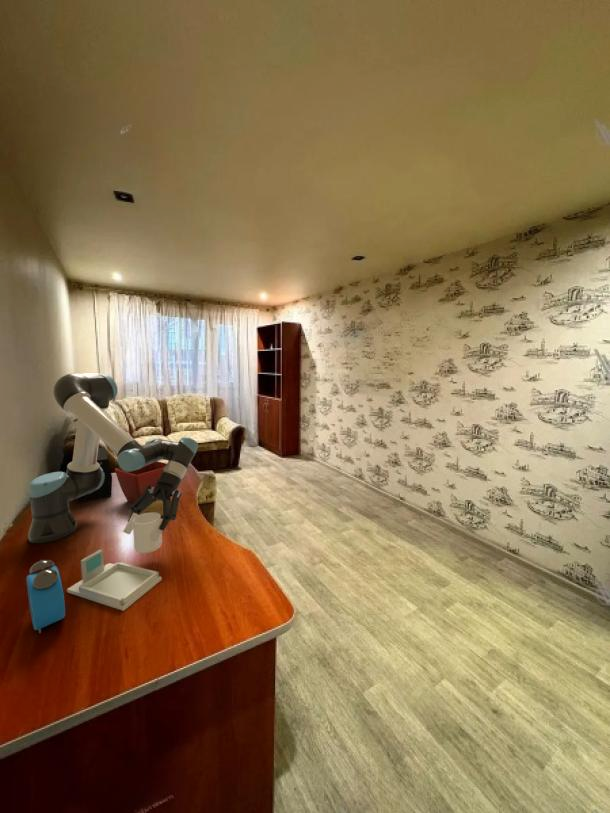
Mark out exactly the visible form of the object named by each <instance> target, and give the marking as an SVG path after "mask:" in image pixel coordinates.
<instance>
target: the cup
mask: <svg viewBox="0 0 610 813" xmlns="http://www.w3.org/2000/svg"><path fill="white" fill-rule="evenodd" d="M160 518H162V516H161V515H160V514H159V513H155V512H150V513H144V514H141V515H139V516H137V517H135V518H134V519H133V530H132V531H133V544H134V549H135V552H137V553H139V554H148V553H152V552H155V551H156V550H158V549H159V548H160V547H161V546H162V544H163V536H162V534H163V533H162V532H163V531H162V532H161V534H160V536H159V538H158V540H157V541H155V540H153V539H151V536H152V534H153V532H154V530H155V528H156V526H157V524H158V522H159V520H160Z"/></svg>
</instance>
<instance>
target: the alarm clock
mask: <svg viewBox="0 0 610 813" xmlns="http://www.w3.org/2000/svg"><path fill="white" fill-rule="evenodd" d="M60 574H61V573H60V571H59V569H58V567H57V566H56V565H55V562H54V561H53V560H51V559H40V560H39V561H37V562H35V563H33V565H32V566H30V568H29V574H28V575H26V586H27V588H26V589H27V595H28V596H27V597H28V603H29V609H30V616H31V622H32V626H33V629H34V631H38V633H39V634H41V633H42V629H43V628H45V627H47V626H50V625H53V624H54V623H57V622H59V621H61V620H63V619H64V618H65V616H66V605H65V603H66V602H65V601H66V599H65V595H64V589H63V588H64V587H63V584H62V579H61V575H60Z"/></svg>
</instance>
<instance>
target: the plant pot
mask: <svg viewBox="0 0 610 813" xmlns="http://www.w3.org/2000/svg"><path fill="white" fill-rule="evenodd" d="M167 463H168V462H167ZM167 463H166V462H162V461H157V462H154V463H152V464H149V465H147V466H144V467H142V468H141V469H138V470H134V471H130V472H127V471H124V470H122V469H121V468H120V467H117V468H115V469H114V471H115V475H116V478H117V481H118V484H119V486H120V489H121V491H122V493H123V495H124V497H125V499H126V501H127V502H130V503H132V504H133V503H134V502H135V501H136V500H137V499H138V498H139V497H140V496H141V495H142V494H143V493H144V492H145V490H146V488H147V487H148V486H149V485H150V486H151V487H155V486H156V485H157V481H158V479H159V477H160V475H161V473H163V470H164V468H165V466H166V465H167Z"/></svg>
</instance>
